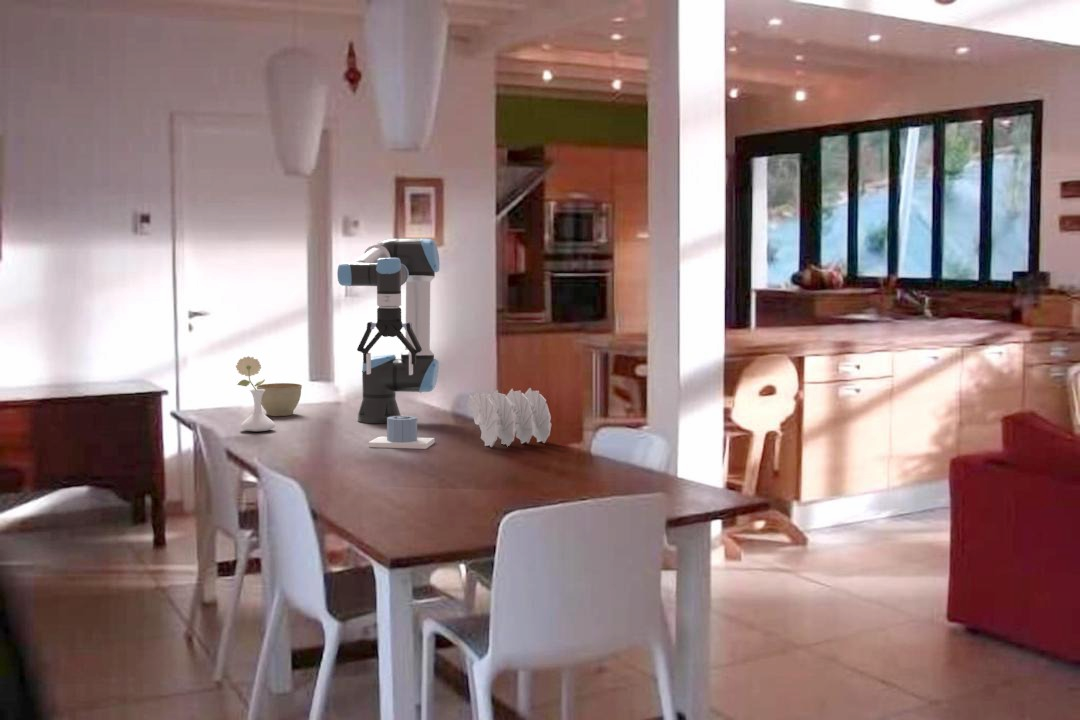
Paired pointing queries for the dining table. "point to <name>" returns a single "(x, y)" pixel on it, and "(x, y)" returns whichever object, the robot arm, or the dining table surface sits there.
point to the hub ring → (402, 429)
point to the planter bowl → (280, 398)
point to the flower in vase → (257, 418)
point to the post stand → (418, 444)
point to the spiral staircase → (511, 416)
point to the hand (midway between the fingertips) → (389, 374)
